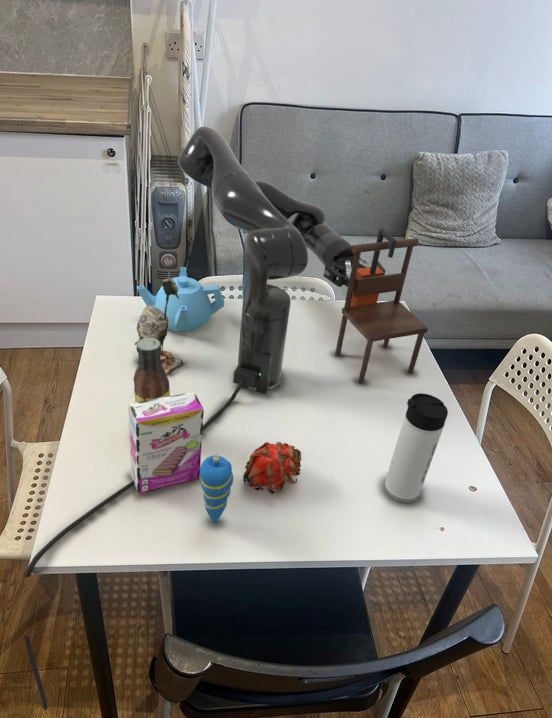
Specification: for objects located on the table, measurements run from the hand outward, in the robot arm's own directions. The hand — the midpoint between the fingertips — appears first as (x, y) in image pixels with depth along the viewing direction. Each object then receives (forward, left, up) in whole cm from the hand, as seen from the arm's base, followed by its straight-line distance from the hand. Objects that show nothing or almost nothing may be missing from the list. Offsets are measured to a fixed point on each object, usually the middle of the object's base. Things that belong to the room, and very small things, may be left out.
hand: (372, 288), depth 137 cm
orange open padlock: (0, 0, -6) cm, 6 cm away
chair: (-5, -4, -15) cm, 17 cm away
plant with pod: (-24, +40, -16) cm, 49 cm away
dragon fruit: (-49, +7, -16) cm, 52 cm away
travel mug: (-42, -15, -16) cm, 47 cm away
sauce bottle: (-45, +31, -16) cm, 57 cm away
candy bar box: (-55, +24, -16) cm, 62 cm away
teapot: (-6, +42, -16) cm, 45 cm away
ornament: (-61, +13, -16) cm, 64 cm away
